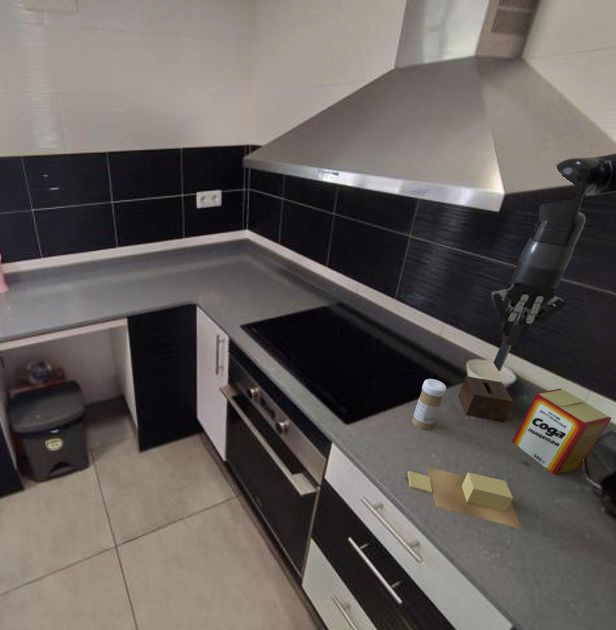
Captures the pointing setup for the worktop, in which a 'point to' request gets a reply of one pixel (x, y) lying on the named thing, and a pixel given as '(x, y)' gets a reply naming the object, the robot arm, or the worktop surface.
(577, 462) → the baking soda box
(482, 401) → the knife block
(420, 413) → the sprinkles bottle
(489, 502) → the butter block
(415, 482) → the butter slice
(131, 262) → the worktop surface
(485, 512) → the butter board
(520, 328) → the knife
